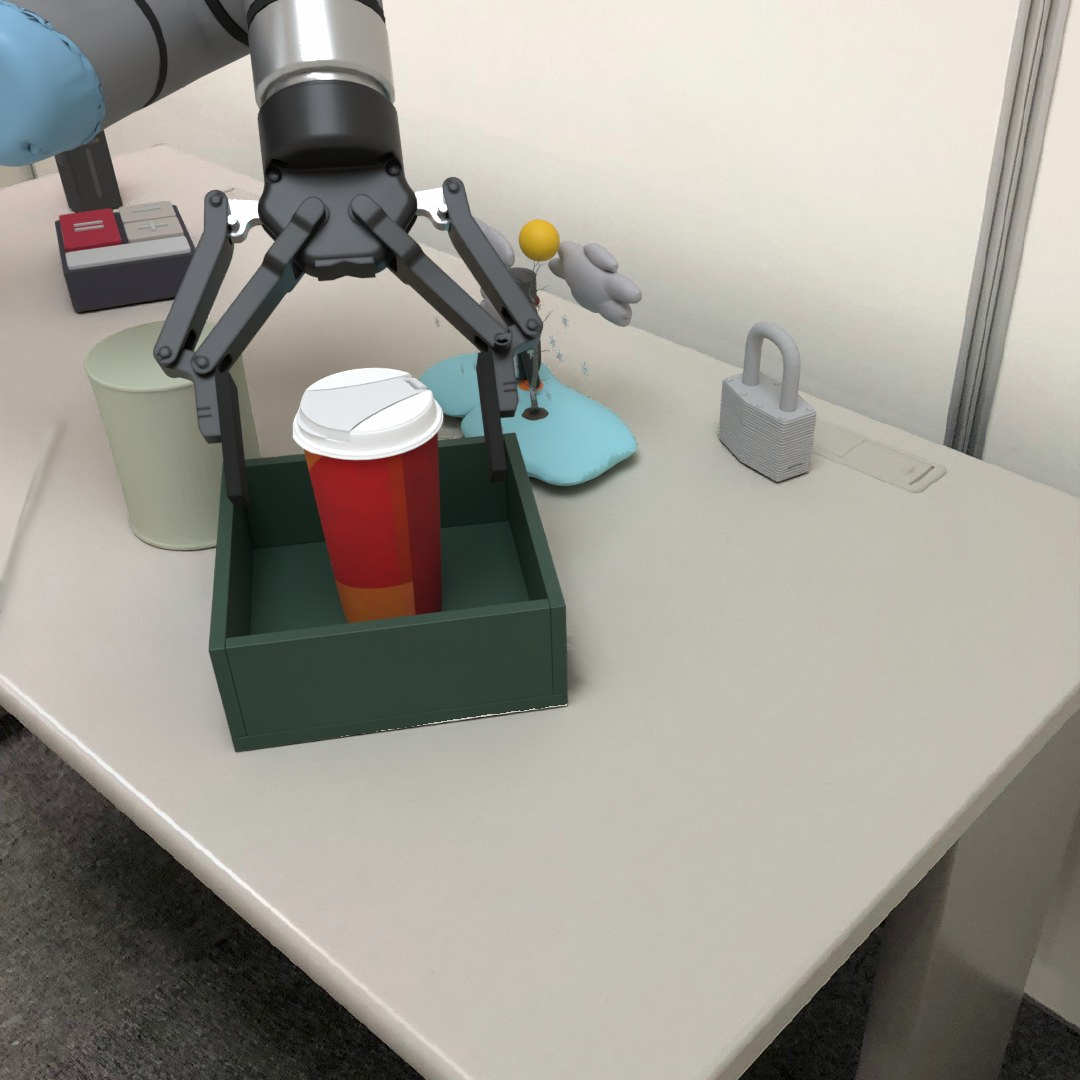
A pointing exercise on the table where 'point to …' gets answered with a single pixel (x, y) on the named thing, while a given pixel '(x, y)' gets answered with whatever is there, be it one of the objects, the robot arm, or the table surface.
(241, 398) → the can
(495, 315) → the blue and grey toy
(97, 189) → the walkie-talkie
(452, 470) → the bin
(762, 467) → the padlock
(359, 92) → the robot arm
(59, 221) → the calculator
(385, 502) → the paper cup
